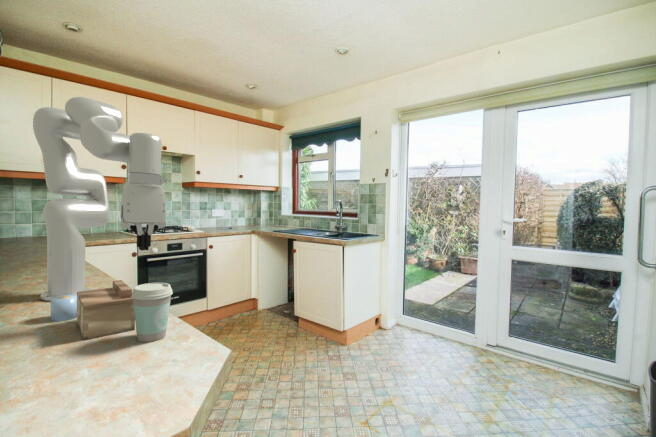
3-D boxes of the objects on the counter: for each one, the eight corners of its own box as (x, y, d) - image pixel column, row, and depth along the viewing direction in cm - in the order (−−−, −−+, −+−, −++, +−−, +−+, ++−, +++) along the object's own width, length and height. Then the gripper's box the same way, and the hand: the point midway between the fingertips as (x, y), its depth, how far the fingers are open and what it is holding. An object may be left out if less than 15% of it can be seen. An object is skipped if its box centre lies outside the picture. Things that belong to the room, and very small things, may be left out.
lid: (76, 294, 81) (76, 284, 81) (122, 289, 88) (122, 279, 88) (84, 309, 70) (84, 297, 70) (135, 301, 77) (135, 290, 77)
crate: (76, 322, 81) (77, 295, 81) (122, 314, 88) (122, 289, 87) (83, 340, 71) (84, 309, 70) (134, 329, 78) (135, 301, 77)
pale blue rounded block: (50, 317, 84) (50, 296, 84) (76, 312, 88) (77, 293, 88) (51, 323, 80) (51, 301, 80) (79, 318, 84) (79, 297, 84)
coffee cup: (154, 346, 69) (155, 292, 68) (121, 342, 71) (121, 289, 70) (179, 332, 77) (180, 283, 77) (149, 328, 79) (150, 280, 79)
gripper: (170, 183, 92) (168, 246, 92) (108, 179, 81) (107, 249, 82) (179, 183, 86) (177, 249, 87) (114, 178, 76) (113, 253, 77)
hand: (143, 249), depth 84 cm, fingers closed
